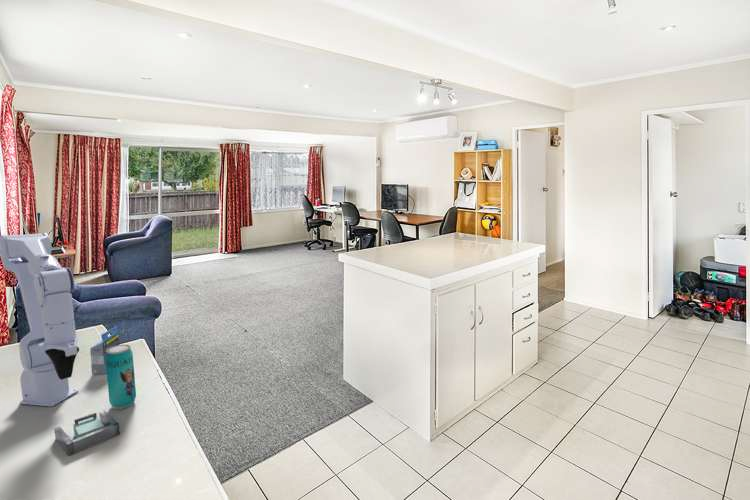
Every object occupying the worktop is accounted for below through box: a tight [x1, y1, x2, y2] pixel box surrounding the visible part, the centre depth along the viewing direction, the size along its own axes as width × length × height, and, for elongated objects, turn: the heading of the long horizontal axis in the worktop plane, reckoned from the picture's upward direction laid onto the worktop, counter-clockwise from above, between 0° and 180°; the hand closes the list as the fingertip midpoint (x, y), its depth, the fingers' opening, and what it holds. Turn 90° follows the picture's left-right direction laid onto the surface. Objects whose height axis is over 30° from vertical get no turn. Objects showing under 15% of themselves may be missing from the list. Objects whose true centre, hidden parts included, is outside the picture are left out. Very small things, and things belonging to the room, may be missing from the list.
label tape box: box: [89, 325, 120, 376], centre depth 122 cm, size 9×4×12 cm, turn 6°
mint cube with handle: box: [72, 412, 105, 439], centre depth 89 cm, size 6×4×4 cm
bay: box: [53, 409, 121, 457], centre depth 89 cm, size 9×10×2 cm
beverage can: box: [105, 344, 137, 410], centre depth 101 cm, size 6×6×15 cm
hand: (65, 377), depth 94 cm, fingers closed
